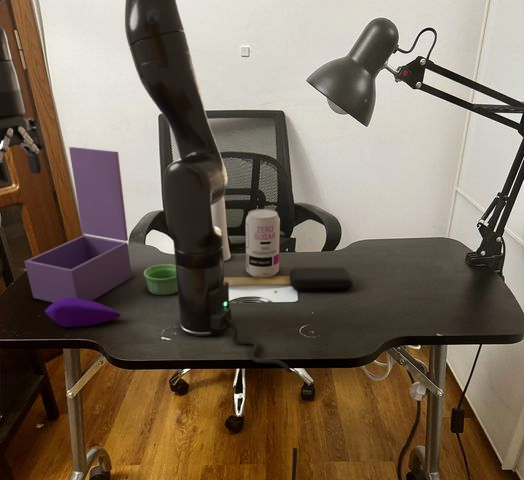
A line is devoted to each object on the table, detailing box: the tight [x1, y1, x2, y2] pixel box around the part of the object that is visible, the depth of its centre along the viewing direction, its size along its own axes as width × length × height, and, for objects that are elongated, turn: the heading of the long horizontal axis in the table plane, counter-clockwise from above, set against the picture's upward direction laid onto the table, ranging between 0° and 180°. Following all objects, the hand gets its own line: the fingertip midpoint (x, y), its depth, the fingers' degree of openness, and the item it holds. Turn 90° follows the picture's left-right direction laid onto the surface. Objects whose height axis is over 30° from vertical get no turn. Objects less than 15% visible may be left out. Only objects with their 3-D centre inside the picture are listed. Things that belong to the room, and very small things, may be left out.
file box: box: [24, 234, 133, 304], centre depth 120 cm, size 19×13×9 cm
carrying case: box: [288, 266, 354, 292], centre depth 124 cm, size 11×3×15 cm
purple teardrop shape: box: [44, 298, 122, 328], centre depth 106 cm, size 5×5×15 cm
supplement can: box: [245, 208, 281, 279], centre depth 127 cm, size 8×8×15 cm
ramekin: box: [143, 263, 178, 296], centre depth 121 cm, size 9×9×4 cm
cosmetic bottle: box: [211, 196, 231, 262], centre depth 133 cm, size 6×6×22 cm
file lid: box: [68, 146, 129, 242], centre depth 122 cm, size 20×13×5 cm
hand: (20, 177), depth 105 cm, fingers open, 8 cm apart
